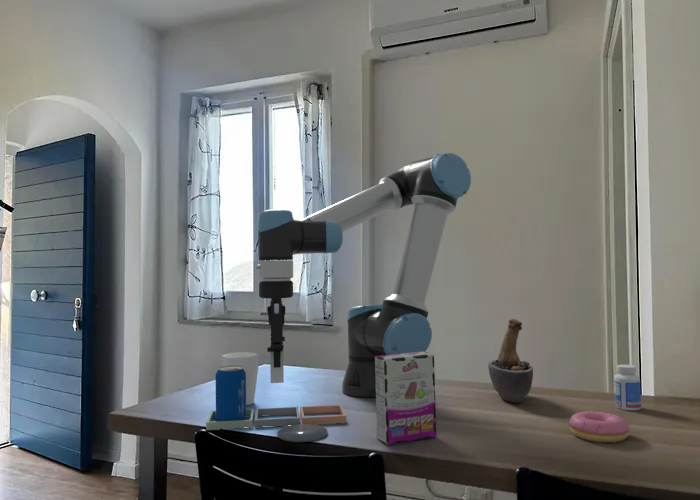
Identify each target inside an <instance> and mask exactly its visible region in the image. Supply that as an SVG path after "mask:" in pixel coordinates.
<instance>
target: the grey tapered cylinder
mask: <svg viewBox="0 0 700 500" xmlns="http://www.w3.org/2000/svg"><path fill="white" fill-rule="evenodd" d="M258 354H259V353H256V352H253V351H251V352H250V351H249V352H247V351H243V352H241V351H239V352H238V351H237V352H230V353H225V354H222V355H221V367H222V366H230V365H238V366H243V367H244V371H245V372H246V407H248V406H250V405H252V404H254V403H255V397H256V396H255V395H256V390H257V380H258V374H259V357H258V356H259V355H258ZM247 405H248V406H247Z"/></svg>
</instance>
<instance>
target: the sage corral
mask: <svg viewBox="0 0 700 500" xmlns="http://www.w3.org/2000/svg"><path fill="white" fill-rule="evenodd" d="M246 416H251V417H249V419H246V420H237V421H216V420H215V421H214V420H213V419H216V410H210V412H209V415H208V417H207V419H206V422H205V430H206V431H220V429H223V430H227V429H226V428H243V429H245V428H244V427H252V426H253V425H254V420H255V408H246ZM252 428H253V427H252Z"/></svg>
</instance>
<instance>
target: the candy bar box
mask: <svg viewBox="0 0 700 500" xmlns="http://www.w3.org/2000/svg"><path fill="white" fill-rule="evenodd" d="M435 375H436V374H435V354H433V353H431V352H430V353H429V352H427V351H425V352H413V353H402V354H393V355H383V356H375V380H376V397H375V407H376V408H375V409H376V411H375V413H376V415H375V416H376V438H377V440H379V441H380V440H381V441H380V442H382V441H383V442H384V444H385V443H386V444H385V445H387V446H391V445H390V444H393V445H396V444H395V443H399V444H403V443H402V442H405V443H409V442H408V441H411V442H414V441H413V440H417V441H420V440H419V439H422V440H427V439H426V438H428V439H433V437H434V438H437V413H436V411H437V410H436V409H437V408H436V406H437V405H436V379H435V378H436V377H435ZM383 442H382V443H383Z"/></svg>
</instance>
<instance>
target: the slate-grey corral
mask: <svg viewBox="0 0 700 500" xmlns="http://www.w3.org/2000/svg"><path fill="white" fill-rule="evenodd" d="M262 415H274V416H285V415H286V416H288V415H290V416H291V415H294V416H295V417H281V418H278V417H277V418H261V419H260V418H259V417H263V416H262ZM299 424H301V415H300V409H299V407H298V406H289V407H288V406H287V407H285V406H283V407H265V408H261V407H260V408H256V409H255V413H254V428H255V427H262V428H264V427H263V426H282V427H287V426H288V425H299Z"/></svg>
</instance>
